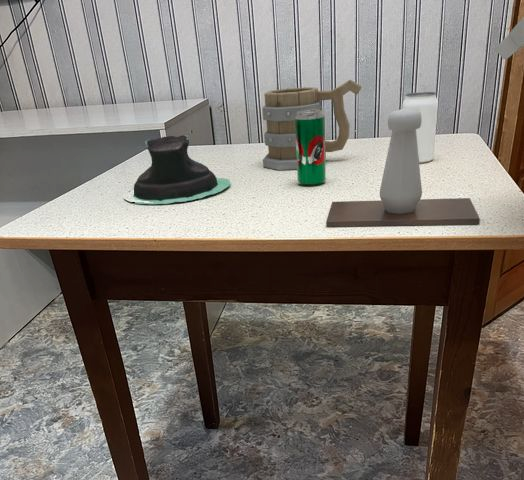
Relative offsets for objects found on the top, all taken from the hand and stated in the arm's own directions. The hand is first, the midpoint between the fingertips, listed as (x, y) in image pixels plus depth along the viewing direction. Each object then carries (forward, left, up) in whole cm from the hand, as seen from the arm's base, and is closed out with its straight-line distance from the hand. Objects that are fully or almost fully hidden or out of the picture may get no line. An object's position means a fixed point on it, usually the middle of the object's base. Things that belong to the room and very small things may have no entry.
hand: (505, 51), depth 63 cm
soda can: (+26, -22, -20) cm, 40 cm away
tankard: (+28, -40, -20) cm, 53 cm away
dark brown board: (+11, -2, -20) cm, 23 cm away
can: (+7, -38, -20) cm, 44 cm away
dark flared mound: (+51, -20, -20) cm, 58 cm away
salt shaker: (+11, -2, -19) cm, 22 cm away
